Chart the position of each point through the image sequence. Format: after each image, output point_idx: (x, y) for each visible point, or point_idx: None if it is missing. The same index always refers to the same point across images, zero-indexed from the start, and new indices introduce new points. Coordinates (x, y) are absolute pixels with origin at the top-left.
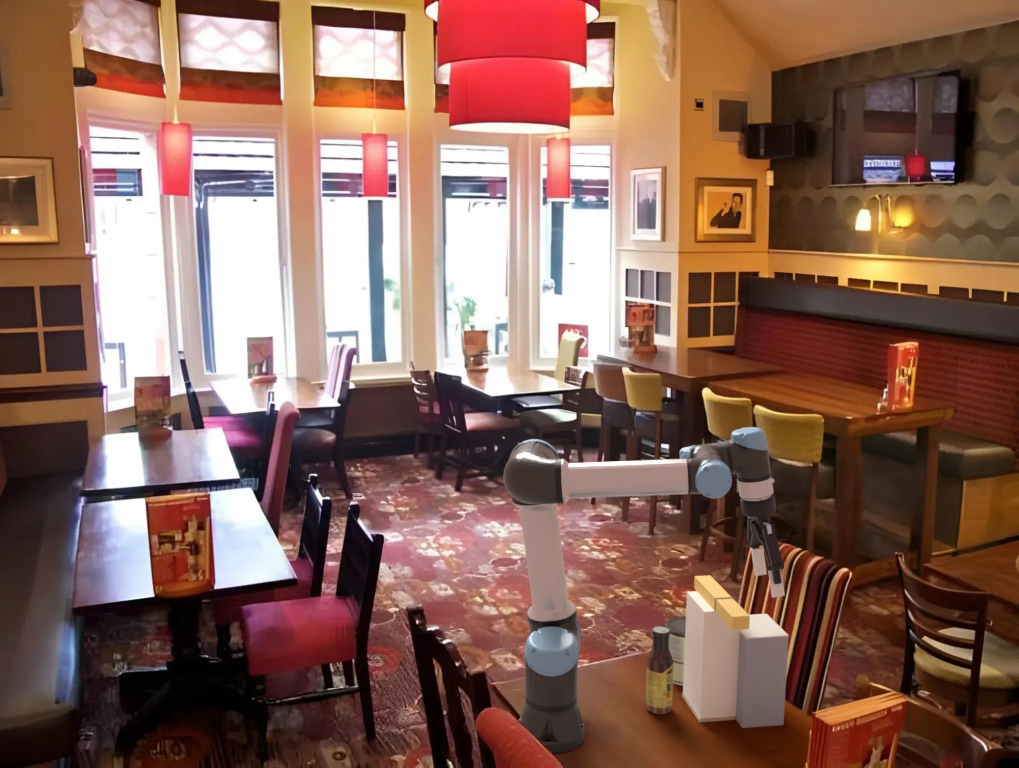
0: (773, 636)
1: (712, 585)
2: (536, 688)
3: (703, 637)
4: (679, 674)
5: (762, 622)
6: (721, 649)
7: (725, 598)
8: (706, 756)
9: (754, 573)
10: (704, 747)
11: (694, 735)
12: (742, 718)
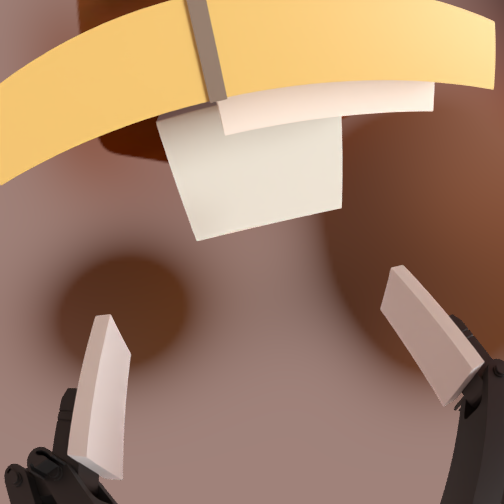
0: (183, 203)
1: (408, 40)
2: None
3: None
4: None
5: (283, 187)
6: None
7: (199, 55)
8: (86, 25)
9: (406, 270)
10: (111, 19)
11: (147, 3)
12: None
